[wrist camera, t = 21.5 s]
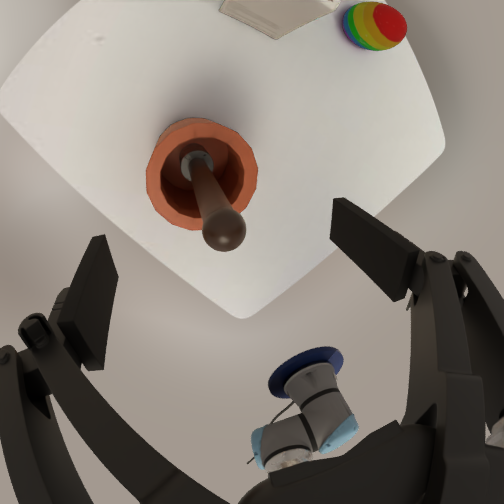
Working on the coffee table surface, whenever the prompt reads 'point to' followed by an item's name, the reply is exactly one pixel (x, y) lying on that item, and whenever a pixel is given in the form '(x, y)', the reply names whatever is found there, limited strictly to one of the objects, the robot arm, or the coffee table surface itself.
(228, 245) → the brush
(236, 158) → the jar
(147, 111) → the coffee table surface
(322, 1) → the rectangular carton
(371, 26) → the decorative egg
